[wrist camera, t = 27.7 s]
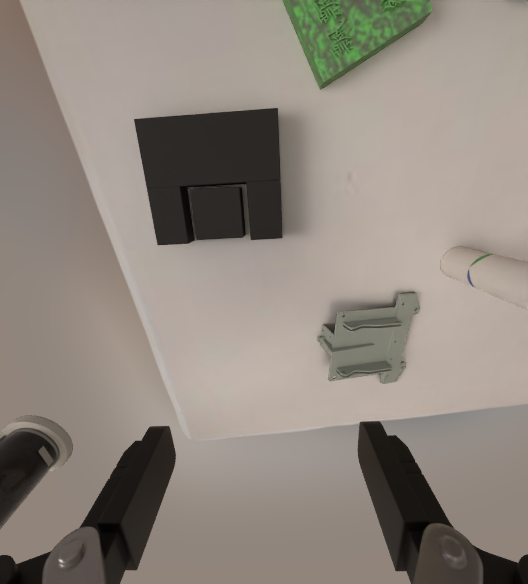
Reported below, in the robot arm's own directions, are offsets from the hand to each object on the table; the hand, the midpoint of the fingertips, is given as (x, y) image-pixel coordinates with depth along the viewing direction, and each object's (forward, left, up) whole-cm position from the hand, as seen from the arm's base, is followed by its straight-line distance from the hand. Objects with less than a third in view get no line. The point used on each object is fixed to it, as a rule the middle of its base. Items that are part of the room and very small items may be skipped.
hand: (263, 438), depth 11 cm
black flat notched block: (-6, +12, -28) cm, 31 cm away
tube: (+26, 0, -28) cm, 38 cm away
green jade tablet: (+10, +29, -28) cm, 42 cm away
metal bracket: (+14, -11, -28) cm, 33 cm away
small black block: (-6, +8, -28) cm, 30 cm away
